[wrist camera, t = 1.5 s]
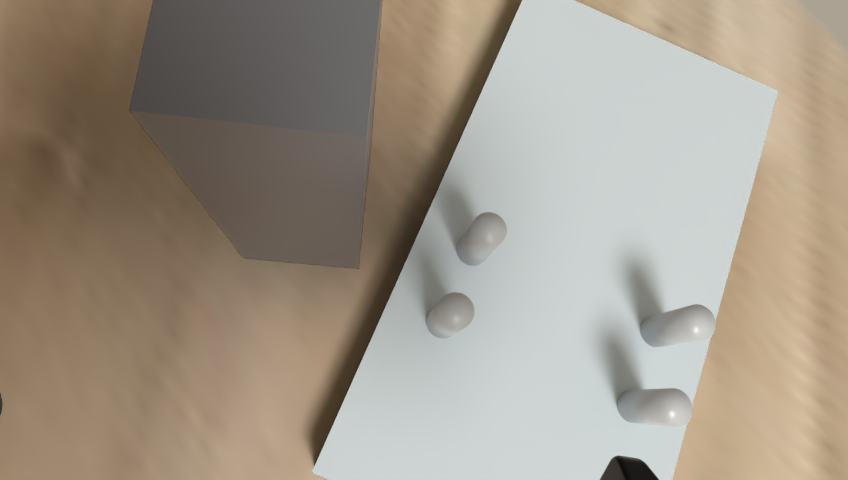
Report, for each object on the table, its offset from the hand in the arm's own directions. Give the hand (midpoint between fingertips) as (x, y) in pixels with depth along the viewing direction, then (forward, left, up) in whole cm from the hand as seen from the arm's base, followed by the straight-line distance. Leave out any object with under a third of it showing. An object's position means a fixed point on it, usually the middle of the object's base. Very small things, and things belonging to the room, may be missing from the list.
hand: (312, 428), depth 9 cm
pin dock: (+11, +2, -14) cm, 18 cm away
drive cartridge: (+2, +8, -14) cm, 16 cm away
